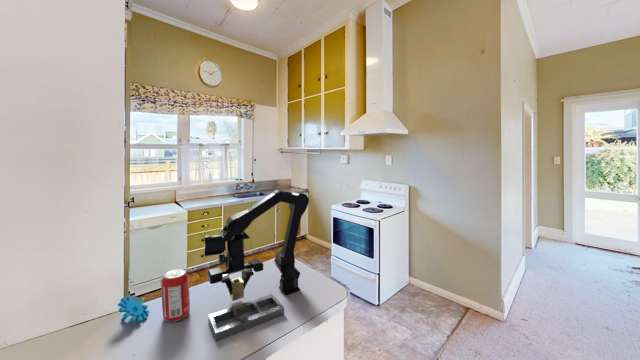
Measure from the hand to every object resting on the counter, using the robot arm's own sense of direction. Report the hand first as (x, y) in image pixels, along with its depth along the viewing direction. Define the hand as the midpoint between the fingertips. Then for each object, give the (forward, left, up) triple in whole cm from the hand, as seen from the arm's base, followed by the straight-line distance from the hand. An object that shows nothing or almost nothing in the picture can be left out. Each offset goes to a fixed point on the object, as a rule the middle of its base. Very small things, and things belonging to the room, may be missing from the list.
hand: (236, 292), depth 93 cm
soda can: (+19, -3, -4) cm, 20 cm away
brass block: (0, 0, -2) cm, 2 cm away
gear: (+30, -9, -4) cm, 32 cm away
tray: (0, +11, -4) cm, 12 cm away
